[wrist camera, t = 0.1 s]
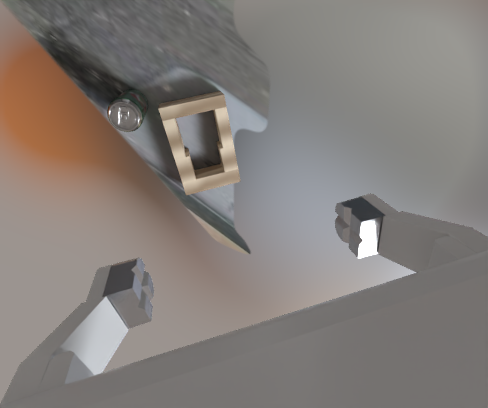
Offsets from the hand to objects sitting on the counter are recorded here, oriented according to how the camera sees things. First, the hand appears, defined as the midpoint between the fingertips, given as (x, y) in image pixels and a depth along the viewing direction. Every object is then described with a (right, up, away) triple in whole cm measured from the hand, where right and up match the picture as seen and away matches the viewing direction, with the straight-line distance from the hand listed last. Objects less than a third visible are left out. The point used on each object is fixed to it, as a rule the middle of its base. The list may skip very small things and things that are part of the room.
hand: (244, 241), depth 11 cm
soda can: (-21, +21, +39) cm, 49 cm away
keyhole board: (-9, +15, +46) cm, 49 cm away
